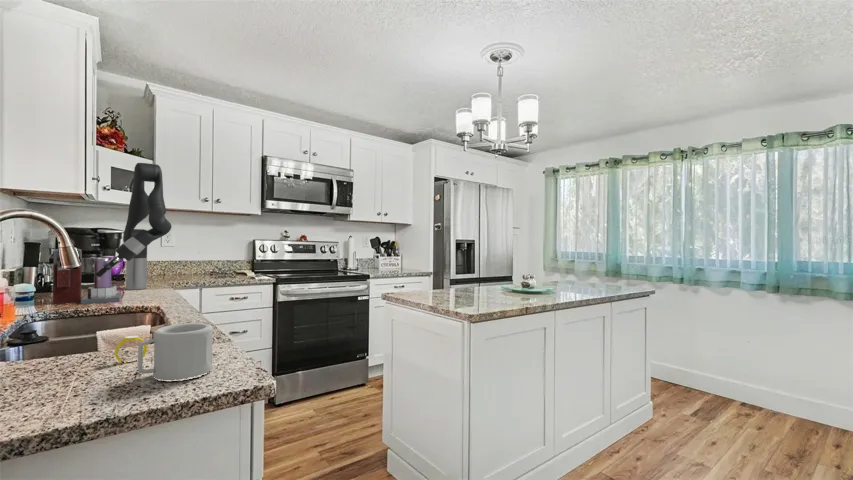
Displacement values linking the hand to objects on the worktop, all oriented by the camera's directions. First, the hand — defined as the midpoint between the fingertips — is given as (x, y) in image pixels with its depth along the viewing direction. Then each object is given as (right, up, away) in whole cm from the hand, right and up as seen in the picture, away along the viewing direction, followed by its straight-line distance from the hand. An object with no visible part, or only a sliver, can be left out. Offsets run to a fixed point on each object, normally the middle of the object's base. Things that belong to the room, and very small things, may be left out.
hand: (97, 275), depth 178 cm
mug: (+96, -13, -95) cm, 135 cm away
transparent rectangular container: (+1, -12, +1) cm, 12 cm away
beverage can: (+1, -7, +1) cm, 8 cm away
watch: (+79, -13, -86) cm, 117 cm away
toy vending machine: (-8, -12, -6) cm, 16 cm away
